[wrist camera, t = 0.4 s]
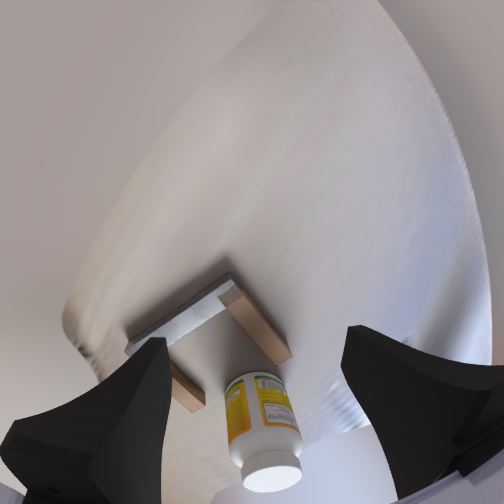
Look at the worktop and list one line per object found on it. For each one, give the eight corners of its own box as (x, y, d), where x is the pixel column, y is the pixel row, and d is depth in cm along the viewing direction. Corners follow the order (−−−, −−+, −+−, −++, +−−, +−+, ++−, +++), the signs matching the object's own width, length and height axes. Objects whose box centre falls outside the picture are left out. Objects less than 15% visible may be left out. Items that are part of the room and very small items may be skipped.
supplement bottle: (278, 362, 23) (311, 451, 14) (288, 403, 25) (316, 484, 15) (216, 378, 23) (222, 471, 14) (232, 417, 24) (243, 501, 15)
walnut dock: (287, 345, 23) (292, 356, 21) (192, 401, 23) (192, 412, 22) (229, 271, 20) (230, 279, 19) (128, 341, 21) (124, 351, 19)
